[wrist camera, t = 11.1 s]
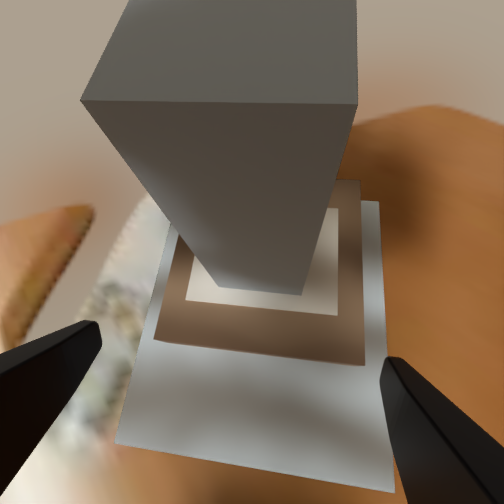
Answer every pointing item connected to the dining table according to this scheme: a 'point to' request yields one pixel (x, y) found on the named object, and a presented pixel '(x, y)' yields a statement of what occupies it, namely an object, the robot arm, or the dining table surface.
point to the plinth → (271, 361)
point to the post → (234, 124)
